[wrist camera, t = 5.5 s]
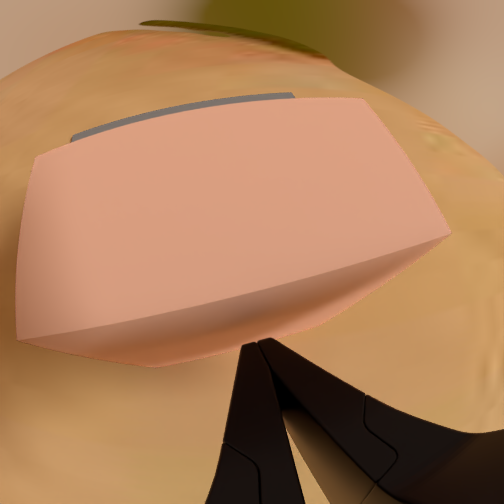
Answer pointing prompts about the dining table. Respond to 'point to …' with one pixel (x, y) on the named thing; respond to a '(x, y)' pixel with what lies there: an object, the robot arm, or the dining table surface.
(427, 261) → the dining table surface
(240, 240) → the terracotta block
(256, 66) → the dining table surface
